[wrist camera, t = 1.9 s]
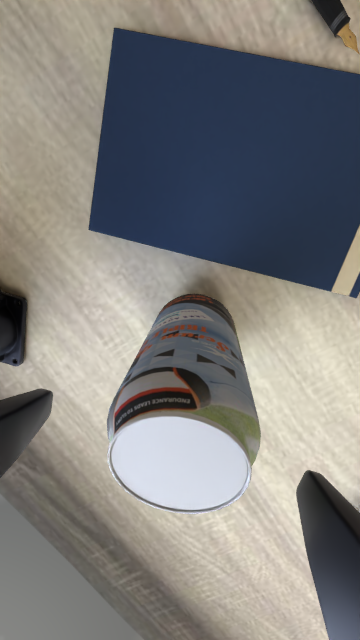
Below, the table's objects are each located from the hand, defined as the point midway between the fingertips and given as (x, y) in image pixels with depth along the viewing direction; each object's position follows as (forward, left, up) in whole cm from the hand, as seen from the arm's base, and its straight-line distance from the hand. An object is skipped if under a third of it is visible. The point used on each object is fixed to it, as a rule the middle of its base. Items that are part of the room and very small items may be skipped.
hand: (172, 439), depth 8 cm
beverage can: (0, 0, -12) cm, 12 cm away
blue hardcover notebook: (+12, 0, -11) cm, 16 cm away
